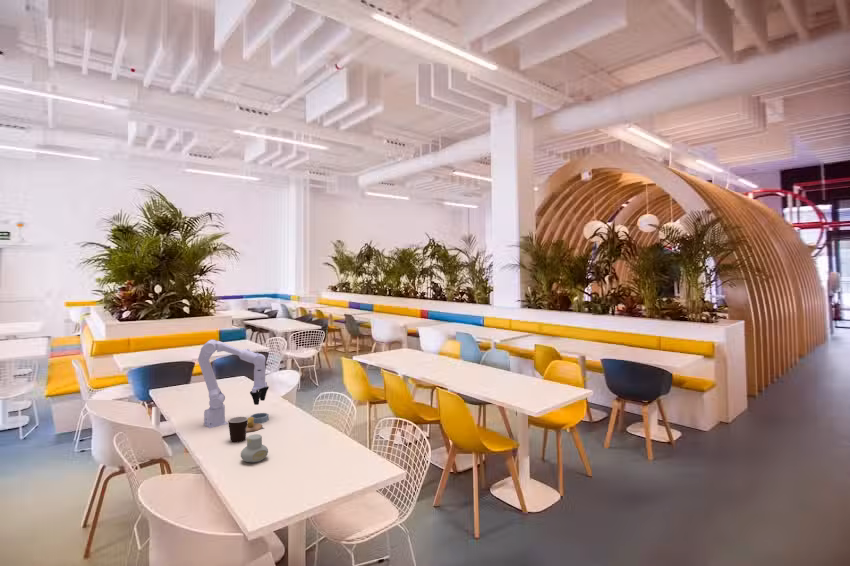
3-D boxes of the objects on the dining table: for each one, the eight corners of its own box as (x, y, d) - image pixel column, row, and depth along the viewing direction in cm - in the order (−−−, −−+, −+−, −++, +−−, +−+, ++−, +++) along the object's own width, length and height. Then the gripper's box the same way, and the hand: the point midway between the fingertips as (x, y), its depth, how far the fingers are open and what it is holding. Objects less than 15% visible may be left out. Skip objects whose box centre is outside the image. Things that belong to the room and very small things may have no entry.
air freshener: (261, 453, 194) (261, 430, 194) (271, 458, 189) (271, 435, 189) (237, 461, 186) (237, 437, 185) (247, 466, 180) (247, 442, 180)
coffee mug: (240, 444, 203) (240, 423, 203) (224, 443, 205) (224, 421, 205) (255, 435, 215) (255, 415, 214) (239, 434, 216) (239, 414, 216)
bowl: (254, 425, 229) (254, 419, 229) (247, 421, 236) (247, 415, 236) (271, 421, 236) (271, 415, 236) (263, 417, 242) (263, 411, 242)
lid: (244, 433, 216) (244, 423, 216) (235, 428, 224) (235, 417, 224) (266, 428, 224) (266, 418, 224) (256, 423, 231) (256, 413, 231)
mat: (245, 434, 217) (245, 433, 217) (236, 428, 224) (236, 428, 224) (264, 429, 224) (264, 428, 224) (256, 424, 231) (256, 423, 231)
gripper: (261, 380, 228) (261, 406, 229) (272, 374, 243) (272, 398, 243) (247, 380, 229) (247, 406, 229) (259, 374, 243) (259, 398, 243)
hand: (259, 402), depth 236 cm, fingers open, 7 cm apart
